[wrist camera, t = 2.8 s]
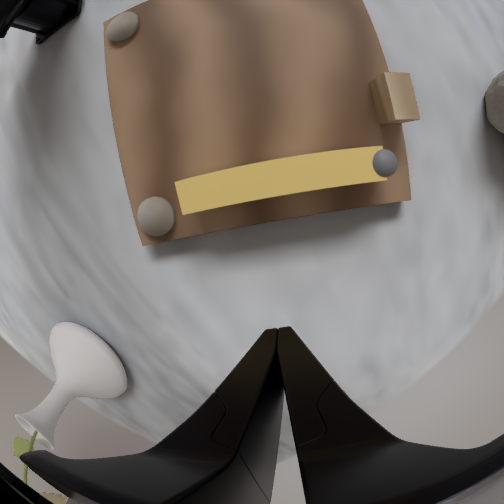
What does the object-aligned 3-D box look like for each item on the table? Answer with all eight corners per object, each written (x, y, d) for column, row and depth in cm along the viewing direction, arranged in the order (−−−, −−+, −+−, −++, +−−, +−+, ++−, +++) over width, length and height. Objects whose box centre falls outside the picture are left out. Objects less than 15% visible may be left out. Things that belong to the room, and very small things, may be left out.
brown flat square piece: (151, 239, 21) (125, 259, 17) (112, 28, 15) (85, 11, 10) (401, 196, 18) (430, 207, 14) (341, -24, 12) (352, -52, 8)
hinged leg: (379, 145, 15) (394, 144, 13) (383, 175, 16) (399, 178, 13) (187, 178, 17) (174, 181, 15) (194, 207, 18) (182, 215, 15)
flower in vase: (83, 381, 29) (4, 507, 6) (45, 313, 26) (-71, 439, 2) (158, 392, 28) (86, 568, 4) (120, 313, 24) (-23, 517, 1)
